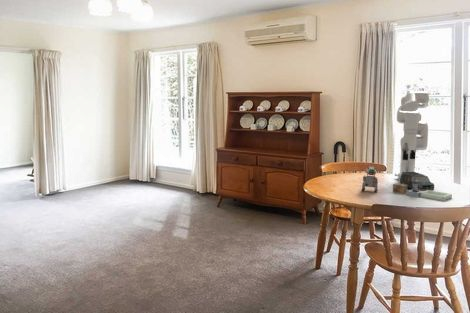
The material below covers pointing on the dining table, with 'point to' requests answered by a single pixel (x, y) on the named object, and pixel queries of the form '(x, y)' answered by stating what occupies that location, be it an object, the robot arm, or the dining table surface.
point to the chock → (400, 188)
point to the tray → (435, 195)
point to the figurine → (370, 179)
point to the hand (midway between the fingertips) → (408, 159)
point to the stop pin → (415, 185)
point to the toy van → (410, 176)
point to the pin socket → (413, 193)
